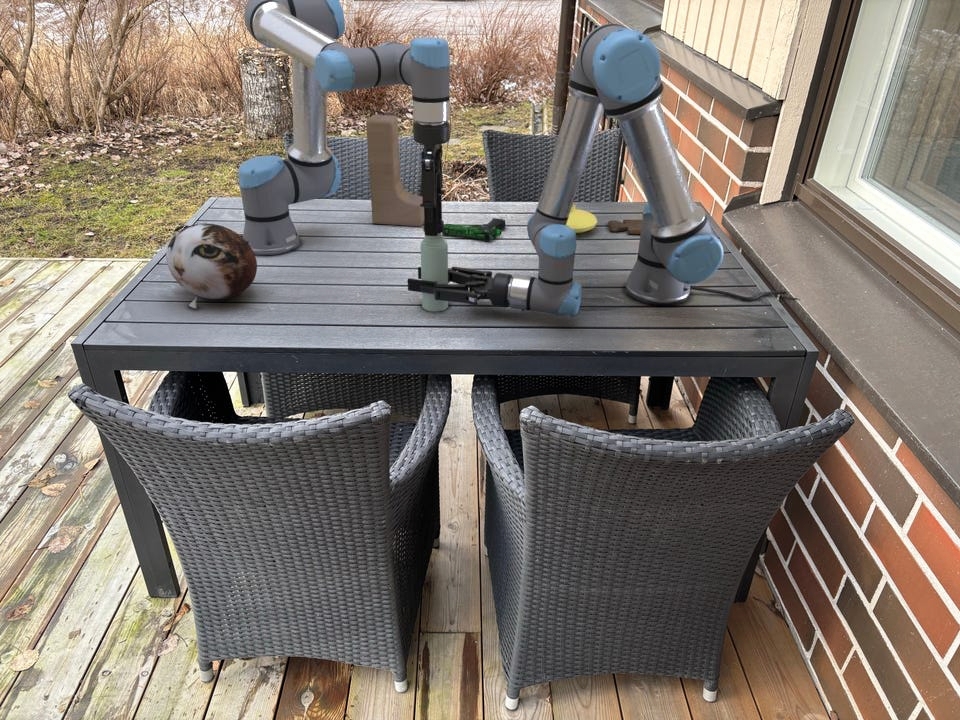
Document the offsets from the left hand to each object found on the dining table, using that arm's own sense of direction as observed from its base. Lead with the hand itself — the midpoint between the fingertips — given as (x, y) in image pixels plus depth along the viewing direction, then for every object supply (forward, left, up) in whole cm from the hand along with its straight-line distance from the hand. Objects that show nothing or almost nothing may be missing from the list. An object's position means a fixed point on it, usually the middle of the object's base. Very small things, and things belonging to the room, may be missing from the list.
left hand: (433, 229), depth 157 cm
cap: (0, 0, +1) cm, 1 cm away
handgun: (-18, +45, -19) cm, 52 cm away
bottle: (0, 0, -19) cm, 19 cm away
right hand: (-5, -2, -12) cm, 13 cm away
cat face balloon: (-45, -25, -19) cm, 55 cm away
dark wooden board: (+23, +77, -19) cm, 83 cm away
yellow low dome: (+3, +63, -19) cm, 66 cm away
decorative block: (-42, +39, -19) cm, 61 cm away
